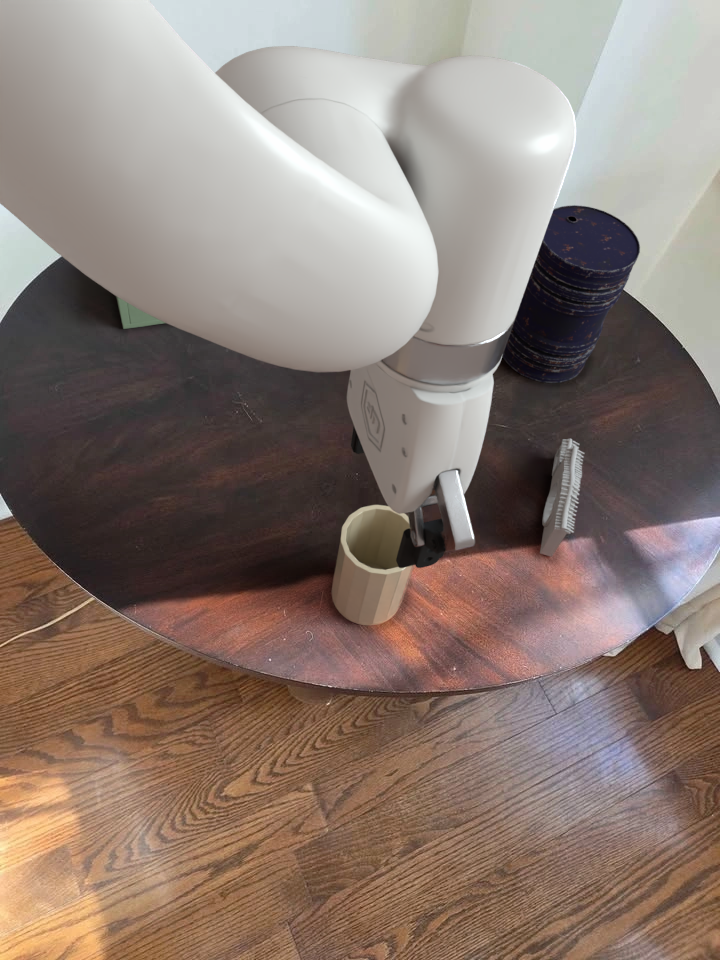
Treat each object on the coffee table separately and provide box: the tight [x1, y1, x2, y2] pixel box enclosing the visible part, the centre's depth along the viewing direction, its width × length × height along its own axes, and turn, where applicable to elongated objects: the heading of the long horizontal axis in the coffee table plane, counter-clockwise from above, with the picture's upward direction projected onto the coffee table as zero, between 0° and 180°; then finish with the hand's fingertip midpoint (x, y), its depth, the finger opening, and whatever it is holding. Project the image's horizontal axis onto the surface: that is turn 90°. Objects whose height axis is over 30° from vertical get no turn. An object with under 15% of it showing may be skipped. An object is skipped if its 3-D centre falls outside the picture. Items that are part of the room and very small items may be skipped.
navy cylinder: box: [502, 204, 641, 384], centre depth 79 cm, size 10×10×15 cm
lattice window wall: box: [539, 437, 586, 558], centre depth 71 cm, size 12×2×6 cm, turn 164°
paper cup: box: [330, 504, 416, 626], centre depth 62 cm, size 6×6×9 cm
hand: (394, 500), depth 54 cm, fingers open, 9 cm apart
